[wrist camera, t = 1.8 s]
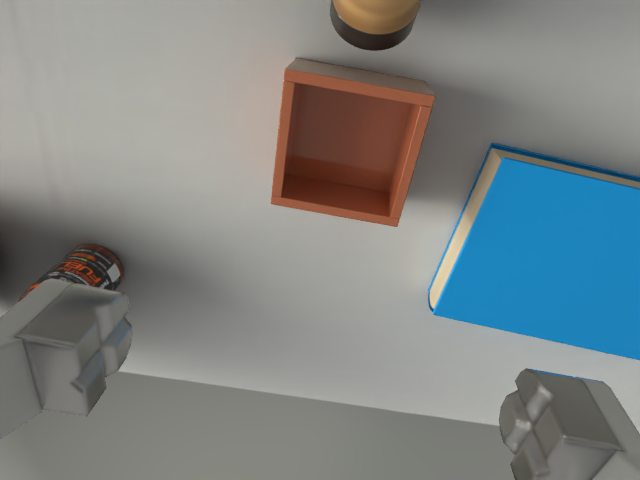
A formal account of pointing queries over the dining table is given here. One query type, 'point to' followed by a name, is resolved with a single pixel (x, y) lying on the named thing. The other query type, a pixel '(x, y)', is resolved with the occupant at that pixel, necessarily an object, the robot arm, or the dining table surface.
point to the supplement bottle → (86, 269)
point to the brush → (374, 21)
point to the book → (546, 253)
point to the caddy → (348, 140)
